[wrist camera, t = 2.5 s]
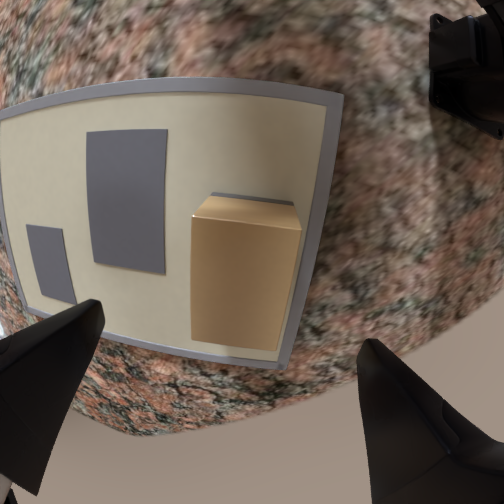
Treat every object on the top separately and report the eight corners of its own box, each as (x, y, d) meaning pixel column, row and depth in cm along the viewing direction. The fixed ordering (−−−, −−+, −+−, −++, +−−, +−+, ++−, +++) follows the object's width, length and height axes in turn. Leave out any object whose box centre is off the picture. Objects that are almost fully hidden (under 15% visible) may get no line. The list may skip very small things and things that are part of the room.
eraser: (293, 201, 13) (302, 229, 10) (275, 303, 16) (276, 352, 12) (212, 191, 13) (190, 215, 10) (206, 294, 16) (190, 340, 12)
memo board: (340, 96, 12) (345, 94, 11) (285, 361, 19) (286, 370, 18) (3, 111, 12) (-5, 112, 11) (29, 305, 19) (24, 311, 18)
